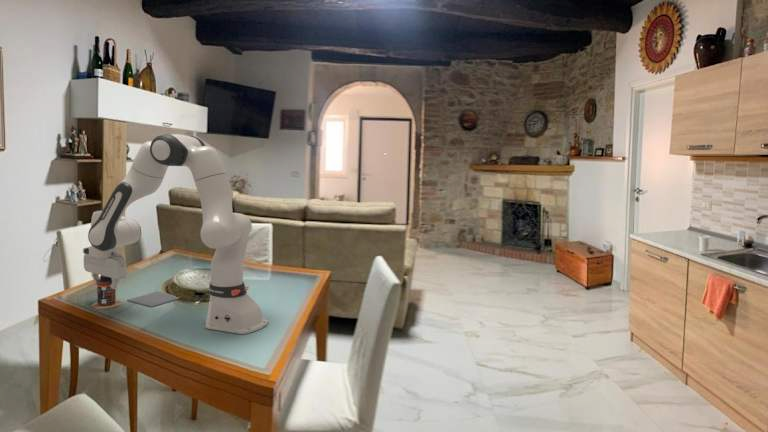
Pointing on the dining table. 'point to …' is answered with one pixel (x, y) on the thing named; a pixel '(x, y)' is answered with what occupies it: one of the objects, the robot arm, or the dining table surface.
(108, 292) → the supplement bottle
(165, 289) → the dining table surface
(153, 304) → the slate mat
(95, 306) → the cork coaster
